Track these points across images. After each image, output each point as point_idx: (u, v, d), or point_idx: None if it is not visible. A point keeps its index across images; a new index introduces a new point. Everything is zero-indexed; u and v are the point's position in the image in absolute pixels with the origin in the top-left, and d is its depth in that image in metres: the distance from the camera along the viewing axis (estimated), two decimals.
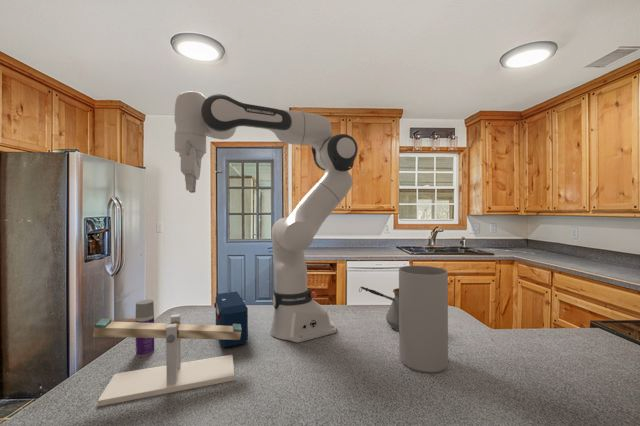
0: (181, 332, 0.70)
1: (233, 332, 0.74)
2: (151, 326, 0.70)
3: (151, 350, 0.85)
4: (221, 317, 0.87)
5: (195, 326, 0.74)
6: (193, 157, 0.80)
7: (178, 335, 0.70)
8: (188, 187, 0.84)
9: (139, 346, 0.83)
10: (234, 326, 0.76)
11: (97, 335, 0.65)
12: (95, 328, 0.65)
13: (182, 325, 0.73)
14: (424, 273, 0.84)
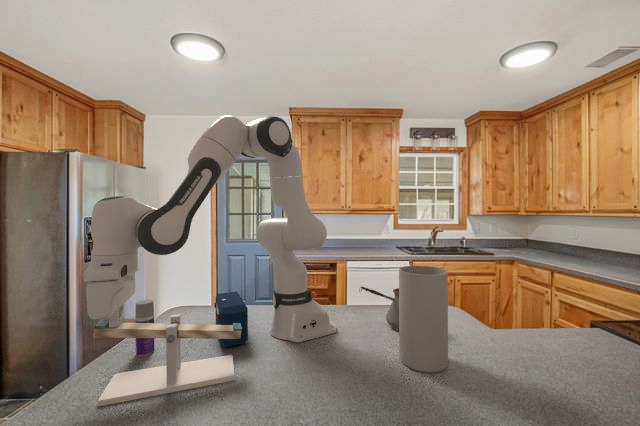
0: (181, 331, 0.70)
1: (233, 331, 0.74)
2: (151, 326, 0.70)
3: (151, 350, 0.85)
4: (221, 317, 0.87)
5: (195, 326, 0.74)
6: None
7: (178, 335, 0.70)
8: None
9: (139, 346, 0.83)
10: (234, 325, 0.76)
11: (97, 336, 0.65)
12: (95, 329, 0.65)
13: (182, 325, 0.73)
14: (424, 273, 0.84)
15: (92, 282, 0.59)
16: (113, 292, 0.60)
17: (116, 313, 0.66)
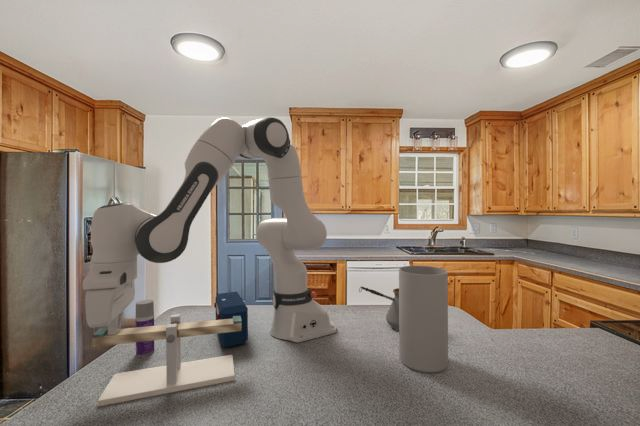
0: (181, 331, 0.70)
1: (233, 324, 0.74)
2: (150, 329, 0.70)
3: (151, 350, 0.85)
4: (221, 317, 0.87)
5: (195, 323, 0.74)
6: None
7: (178, 334, 0.70)
8: None
9: (139, 346, 0.83)
10: (234, 318, 0.76)
11: (96, 345, 0.65)
12: (93, 338, 0.65)
13: (182, 324, 0.73)
14: (424, 273, 0.84)
15: (91, 290, 0.59)
16: (112, 300, 0.60)
17: (115, 320, 0.65)
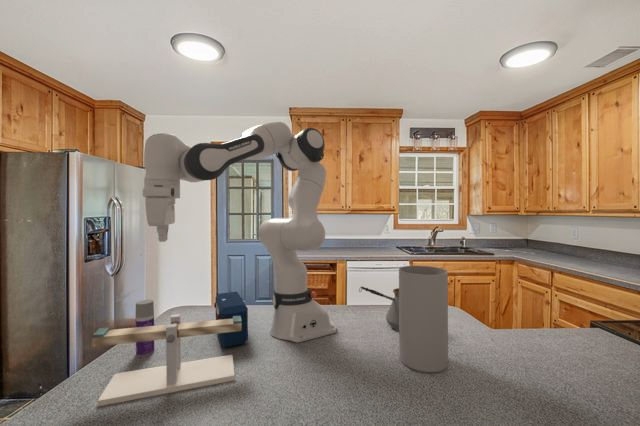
0: (181, 331, 0.70)
1: (233, 324, 0.74)
2: (150, 329, 0.70)
3: (151, 350, 0.85)
4: (221, 317, 0.87)
5: (195, 323, 0.74)
6: None
7: (178, 334, 0.70)
8: None
9: (139, 346, 0.83)
10: (234, 318, 0.76)
11: (96, 345, 0.65)
12: (93, 338, 0.65)
13: (182, 324, 0.73)
14: (424, 273, 0.84)
15: (149, 197, 0.73)
16: (166, 205, 0.73)
17: (164, 229, 0.79)
